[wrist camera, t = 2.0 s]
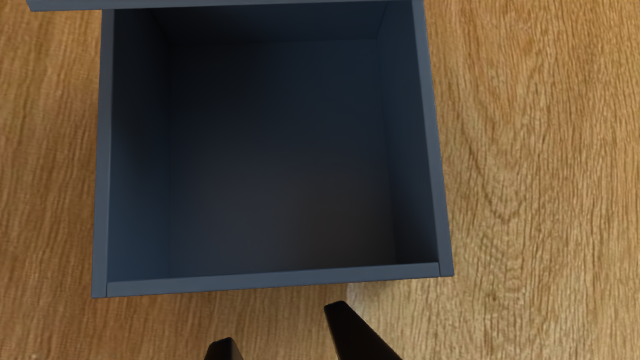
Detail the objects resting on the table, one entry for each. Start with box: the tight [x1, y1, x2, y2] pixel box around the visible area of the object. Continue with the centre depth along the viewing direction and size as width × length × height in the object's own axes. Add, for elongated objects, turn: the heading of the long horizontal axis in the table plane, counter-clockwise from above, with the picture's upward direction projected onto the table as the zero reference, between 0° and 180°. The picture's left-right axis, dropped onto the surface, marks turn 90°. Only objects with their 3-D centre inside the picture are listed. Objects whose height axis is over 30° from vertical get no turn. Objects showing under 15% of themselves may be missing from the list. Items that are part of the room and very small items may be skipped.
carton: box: [91, 0, 454, 298], centre depth 20 cm, size 13×12×8 cm
